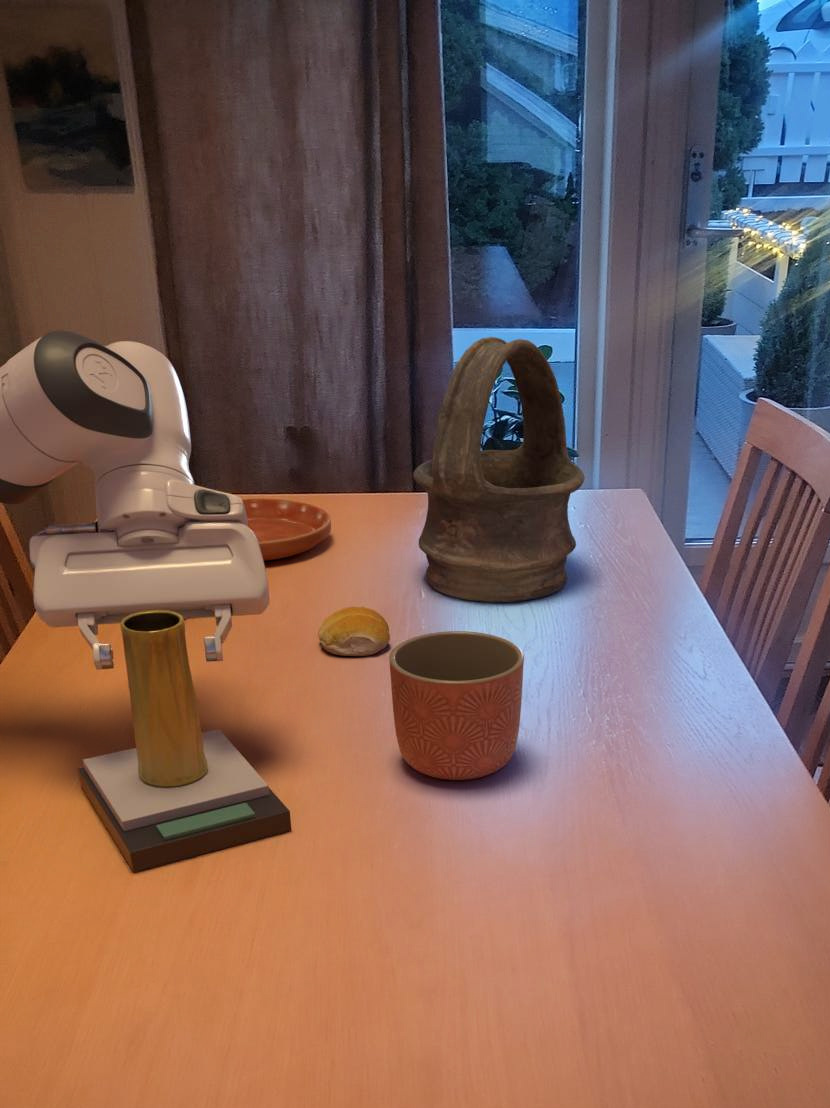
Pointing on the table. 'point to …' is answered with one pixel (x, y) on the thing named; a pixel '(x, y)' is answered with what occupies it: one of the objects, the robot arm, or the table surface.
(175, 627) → the vase
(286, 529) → the saucer
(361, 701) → the table surface
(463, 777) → the planter
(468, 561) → the clay pot
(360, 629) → the bread roll
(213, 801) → the scale
